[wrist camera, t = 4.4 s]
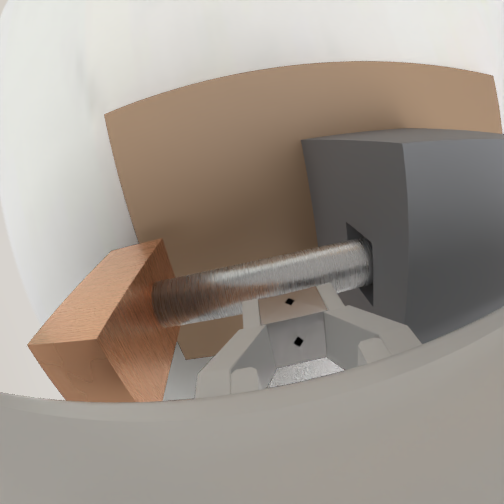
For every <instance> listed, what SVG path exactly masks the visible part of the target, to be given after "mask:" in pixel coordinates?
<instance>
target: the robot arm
mask: <svg viewBox="0 0 504 504" xmlns="http://www.w3.org/2000/svg"><path fill="white" fill-rule="evenodd" d="M242 312H243V329H240V330H238V331H237V333H236V334H235V335H234V336H233V337H232V338H231V339H230V340H229V341H228V342H227V343H226V344H225V346H224V347H223V348H222V349H221V350H220V351H219V352H218V353H217V354H216V355H215V356H214V357H213V358H212V359H211V360H210V361H209V363H208V364H207V365H206V366H205V367H204V368H203V369H202V370H201V371H200V372H199V373H198V375H197V382H196V390H195V397H194V399H184V400H171V401H153V402H82V401H65V400H52V399H42V398H34V397H27V396H19V395H13V394H8V393H2V392H0V504H504V306H503V307H502V308H500V309H498V310H496V311H494V312H492V313H490V314H488V315H486V316H484V317H482V318H480V319H478V320H476V321H474V322H472V323H470V324H468V325H466V326H464V327H462V328H460V329H457V330H455V331H453V332H451V333H448V334H446V335H444V336H441V337H439V338H437V339H434V340H432V341H429V342H427V343H424V344H422V343H421V342H420V341H419V339H418V338H417V337H416V336H415V334H414V333H413V332H412V331H411V329H410V328H409V327H408V326H407V325H404V324H401V323H399V322H396V321H393V320H390V319H387V318H384V317H381V316H378V315H376V314H373V313H370V312H367V311H364V310H361V309H359V308H356V307H353V306H350V305H347V306H345V305H344V304H343V302H342V300H341V299H340V297H339V296H338V294H337V292H336V291H335V289H334V288H333V286H332V284H331V283H325V284H322V285H318V286H314V287H310V288H306V289H302V290H298V291H294V292H290V293H284V294H279V295H274V296H269V297H264V298H258V299H252V300H248V301H243V303H242ZM325 357H327V358H328V359H330V360H331V361H333V362H334V363H335V364H337V365H338V366H340V367H341V368H343V369H344V371H341V372H337V373H333V374H329V375H326V376H322V377H318V378H314V379H309V380H305V381H301V382H296V383H292V384H287V385H282V386H277V387H272V388H267V387H268V385H269V383H270V381H271V379H272V378H273V376H274V374H275V372H276V369H277V368H281V367H285V366H290V365H294V364H298V363H302V362H307V361H311V360H316V359H320V358H325Z"/></svg>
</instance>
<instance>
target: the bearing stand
mask: <svg viewBox="0 0 504 504" xmlns="http://www.w3.org/2000/svg"><path fill="white" fill-rule="evenodd" d="M104 116H105V121H106V126H107V131H108V135H109V139H110V144H111V148H112V152H113V156H114V160H115V164H116V168H117V172H118V176H119V180H120V183H121V187H122V190H123V194H124V197H125V201H126V204H127V207H128V211H129V214H130V217H131V220H132V224H133V227H134V230H135V233H136V236H137V239H138V242H139V244H140V243H144V242H148V241H152V240H156V239H160V238H163V241H164V245H165V248H166V251H167V254H168V257H169V260H170V263H171V266H172V269H173V272H174V275H175V277H180V276H185V275H190V274H195V273H199V272H204V271H209V270H214V269H219V268H223V267H228V266H233V265H237V264H242V263H247V262H252V261H256V260H261V259H266V258H270V257H275V256H279V255H284V254H289V253H293V252H298V251H302V250H307V249H312V248H316V247H321V246H325V245H330V244H334V243H339V242H343V241H348V240H352V239H357V238H361V237H366V238H367V239H368V240H369V241H370V242H372V253H373V284H370V285H366V286H363V287H359V288H355V289H351V290H347V291H343V292H339V293H337V294H338V296H339V297H340V299H341V300H342V302H343V304H344V305H345V306H347V305H350V306H353V307H356V308H359V309H361V310H364V311H367V312H370V313H373V314H376V315H378V316H381V317H384V318H387V319H390V320H393V321H396V322H399V323H401V324H404V325H407V326H408V327H409V328H410V329H411V331H412V332H413V333H414V334H415V336H416V337H417V338H418V339H419V341H420V342H421V343H422V344H424V343H427V342H429V341H432V340H434V339H437V338H439V337H441V336H444V335H446V334H448V333H451V332H453V331H455V330H457V329H460V328H462V327H464V326H466V325H468V324H470V323H472V322H474V321H476V320H478V319H480V318H482V317H484V316H486V315H488V314H490V313H492V312H494V311H496V310H498V309H500V308H502V307H503V306H504V134H502V126H501V118H500V110H499V104H498V98H497V93H496V87H495V82H494V78H493V76H492V75H487V74H483V73H478V72H473V71H468V70H462V69H456V68H450V67H443V66H435V65H426V64H416V63H402V62H378V61H351V62H327V63H313V64H301V65H292V66H284V67H276V68H269V69H262V70H256V71H250V72H245V73H240V74H235V75H230V76H225V77H220V78H216V79H212V80H207V81H203V82H199V83H196V84H192V85H188V86H184V87H181V88H177V89H174V90H171V91H167V92H164V93H161V94H158V95H155V96H152V97H149V98H146V99H143V100H140V101H137V102H135V103H132V104H129V105H127V106H124V107H121V108H119V109H116V110H114V111H111V112H109V113H106V114H104ZM240 329H243V314H241V315H235V316H230V317H225V318H219V319H214V320H208V321H203V322H197V323H191V324H185V325H181V327H180V330H179V334H178V338H177V342H178V344H179V346H180V348H181V351H182V353H183V355H184V357H185V359H186V360H188V359H196V358H203V357H209V356H215V355H216V354H217V353H218V352H219V351H220V350H221V349H222V348H223V347H224V346H225V344H226V343H227V342H228V341H229V340H230V339H231V338H232V337H233V336H234V335H235V334H236V333H237V331H238V330H240Z"/></svg>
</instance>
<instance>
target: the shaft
mask: <svg viewBox="0 0 504 504" xmlns="http://www.w3.org/2000/svg"><path fill="white" fill-rule="evenodd" d="M325 283H331V284H332V286H333V288H334V289H335V291H336V292H337V293H339V292H343V291H347V290H351V289H355V288H359V287H363V286H366V285H370V284H373V253H372V242H370V241H369V240H368V239H367V238H366V237H361V238H357V239H352V240H348V241H343V242H339V243H334V244H330V245H325V246H321V247H316V248H312V249H307V250H302V251H298V252H293V253H289V254H284V255H279V256H275V257H270V258H266V259H261V260H256V261H252V262H247V263H242V264H237V265H233V266H228V267H223V268H219V269H214V270H209V271H204V272H199V273H195V274H190V275H185V276H180V277H175V275H174V272H173V269H172V266H171V263H170V260H169V257H168V254H167V251H166V248H165V245H164V241H163V238H160V239H156V240H152V241H148V242H144V243H140V244H136V245H132V246H128V247H124V248H121V249H117V250H113V251H111V252H110V253H109V254H108V255H107V256H106V257H105V258H104V259H103V260H102V261H101V262H100V263H99V264H98V265H97V266H96V267H95V268H94V269H93V270H92V271H91V272H90V273H89V274H88V275H87V276H86V277H85V279H84V280H83V281H82V282H81V283H80V284H79V285H78V286H77V287H76V288H75V289H74V290H73V291H72V293H71V294H70V295H69V296H68V297H67V298H66V299H65V300H64V301H63V303H62V304H61V305H60V306H59V307H58V308H57V309H56V311H55V312H54V313H53V314H52V315H51V316H50V318H49V319H48V320H47V321H46V322H45V324H44V325H43V326H42V327H41V328H40V330H39V331H38V332H37V333H36V335H35V336H34V337H33V338H32V339H31V341H30V342H29V343H28V347H29V349H30V350H31V352H32V353H33V355H34V357H35V358H36V360H37V361H38V363H39V364H40V366H41V367H42V368H43V370H44V371H45V373H46V374H47V376H48V377H49V379H50V380H51V381H52V383H53V384H54V385H55V387H56V388H57V389H58V391H59V392H60V393H61V395H62V396H63V397H64V398H65V400H66V401H82V402H153V401H162V400H163V396H164V392H165V387H166V383H167V379H168V374H169V370H170V366H171V362H172V358H173V354H174V350H175V346H176V342H177V338H178V334H179V330H180V327H181V325H185V324H191V323H197V322H203V321H208V320H214V319H219V318H225V317H230V316H235V315H241V314H243V312H242V303H243V301H248V300H252V299H258V298H264V297H269V296H274V295H279V294H284V293H290V292H294V291H298V290H302V289H306V288H310V287H314V286H318V285H322V284H325Z"/></svg>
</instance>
